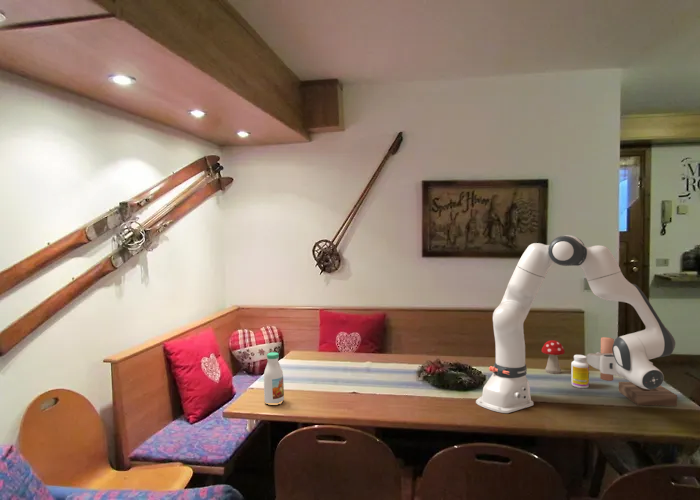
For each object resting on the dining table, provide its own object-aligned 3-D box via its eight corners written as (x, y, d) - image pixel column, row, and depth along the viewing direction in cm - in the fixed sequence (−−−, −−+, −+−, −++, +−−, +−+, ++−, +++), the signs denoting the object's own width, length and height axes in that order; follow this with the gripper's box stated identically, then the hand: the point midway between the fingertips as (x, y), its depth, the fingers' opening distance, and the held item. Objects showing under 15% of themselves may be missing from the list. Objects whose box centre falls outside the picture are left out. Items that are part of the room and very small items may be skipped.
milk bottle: (265, 407, 173) (263, 357, 172) (263, 400, 180) (262, 351, 179) (285, 404, 175) (283, 355, 174) (282, 397, 182) (281, 350, 181)
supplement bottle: (591, 389, 184) (591, 358, 183) (573, 388, 185) (573, 358, 184) (585, 383, 190) (585, 354, 189) (569, 382, 191) (569, 353, 191)
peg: (610, 381, 170) (611, 340, 169) (598, 378, 174) (599, 338, 173) (615, 379, 173) (615, 338, 172) (603, 376, 176) (603, 336, 176)
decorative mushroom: (560, 369, 209) (560, 338, 209) (567, 375, 201) (567, 342, 200) (539, 369, 210) (538, 338, 210) (545, 375, 202) (545, 342, 201)
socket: (676, 405, 165) (677, 395, 165) (637, 405, 167) (637, 394, 166) (655, 391, 179) (655, 382, 179) (618, 391, 180) (618, 381, 180)
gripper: (655, 356, 159) (633, 346, 173) (597, 356, 160) (579, 346, 174) (655, 373, 160) (633, 361, 173) (597, 373, 161) (579, 361, 174)
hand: (605, 354), depth 174 cm, fingers closed on peg, 4 cm apart
